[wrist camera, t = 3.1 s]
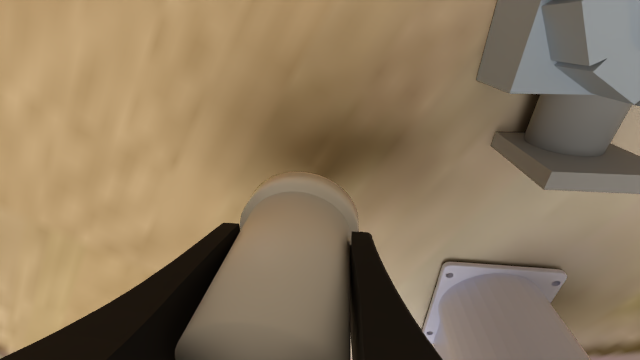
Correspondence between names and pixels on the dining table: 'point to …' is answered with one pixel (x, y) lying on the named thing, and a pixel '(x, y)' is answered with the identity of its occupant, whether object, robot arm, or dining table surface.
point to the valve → (568, 89)
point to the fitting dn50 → (281, 278)
